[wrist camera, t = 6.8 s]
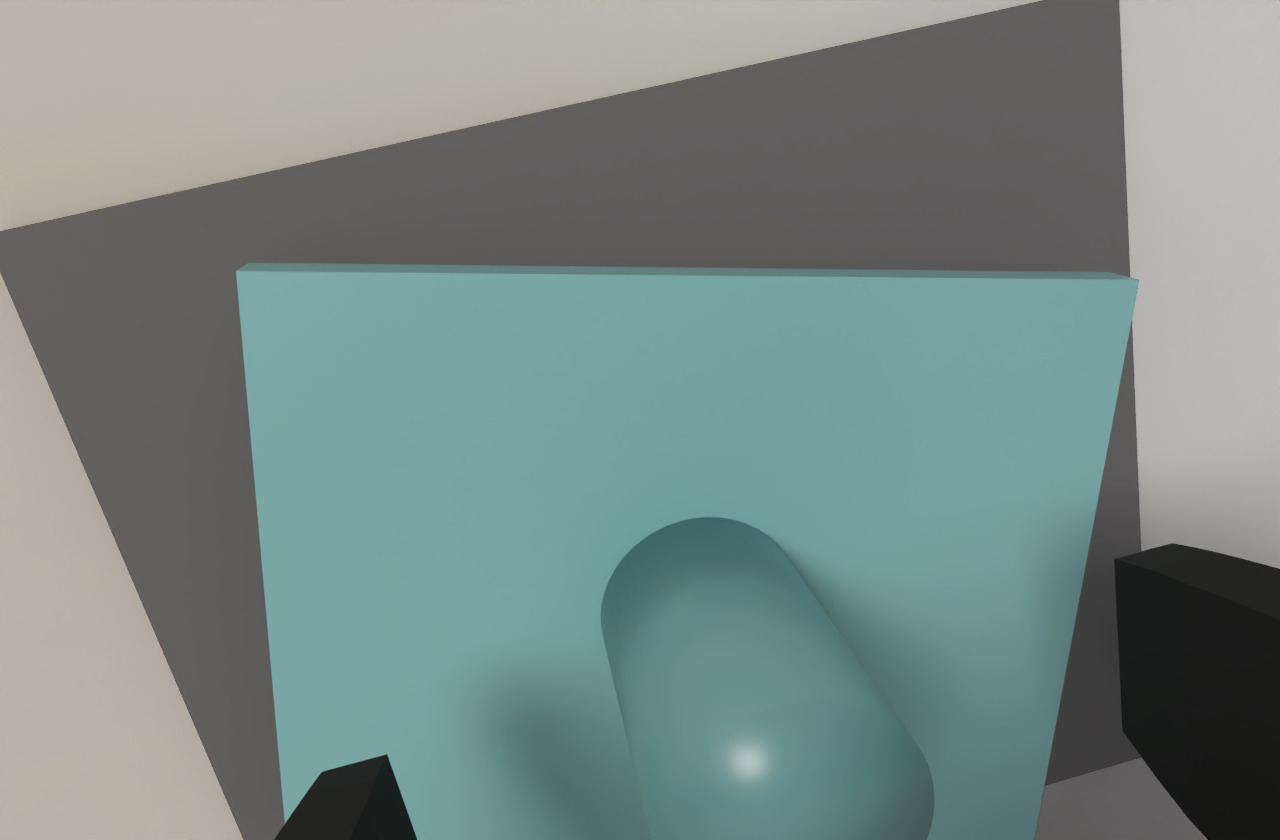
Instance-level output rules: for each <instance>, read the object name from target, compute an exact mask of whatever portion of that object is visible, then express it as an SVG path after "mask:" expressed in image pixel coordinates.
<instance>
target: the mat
mask: <svg viewBox="0 0 1280 840" xmlns="http://www.w3.org/2000/svg"><path fill="white" fill-rule="evenodd" d="M247 263H319V264H411V265H502V266H594V267H685V268H777V269H868V270H959V271H1051V272H1111V273H1115V274H1119V275H1123V276H1126V277H1130V263H1129V238H1128V213H1127V188H1126V162H1125V137H1124V112H1123V87H1122V62H1121V37H1120V12H1119V0H1043V1H1039V2H1034V3H1030V4H1025V5H1020V6H1016V7H1011V8H1007V9H1002V10H998V11H993V12H989V13H984V14H980V15H975V16H971V17H966V18H962V19H957V20H953V21H948V22H944V23H939V24H935V25H930V26H926V27H921V28H917V29H912V30H908V31H903V32H898V33H894V34H889V35H885V36H880V37H876V38H871V39H867V40H862V41H858V42H853V43H849V44H844V45H840V46H835V47H831V48H826V49H822V50H817V51H813V52H808V53H804V54H799V55H795V56H790V57H786V58H781V59H776V60H772V61H767V62H763V63H758V64H754V65H749V66H745V67H740V68H736V69H731V70H727V71H722V72H718V73H713V74H709V75H704V76H700V77H695V78H691V79H686V80H682V81H677V82H673V83H668V84H664V85H659V86H654V87H650V88H645V89H641V90H636V91H632V92H627V93H623V94H618V95H614V96H609V97H605V98H600V99H596V100H591V101H587V102H582V103H578V104H573V105H569V106H564V107H560V108H555V109H551V110H546V111H542V112H537V113H533V114H528V115H523V116H519V117H514V118H510V119H505V120H501V121H496V122H492V123H487V124H483V125H478V126H474V127H469V128H465V129H460V130H456V131H451V132H447V133H442V134H438V135H433V136H429V137H424V138H420V139H415V140H411V141H406V142H401V143H397V144H392V145H388V146H383V147H379V148H374V149H370V150H365V151H361V152H356V153H352V154H347V155H343V156H338V157H334V158H329V159H325V160H320V161H316V162H311V163H307V164H302V165H298V166H293V167H289V168H284V169H279V170H275V171H270V172H266V173H261V174H257V175H252V176H248V177H243V178H239V179H234V180H230V181H225V182H221V183H216V184H212V185H207V186H203V187H198V188H194V189H189V190H185V191H180V192H176V193H171V194H167V195H162V196H157V197H153V198H148V199H144V200H139V201H135V202H130V203H126V204H121V205H117V206H112V207H108V208H103V209H99V210H94V211H90V212H85V213H81V214H76V215H72V216H67V217H63V218H58V219H54V220H49V221H45V222H40V223H36V224H31V225H26V226H22V227H17V228H13V229H8V230H4V231H0V273H1V275H2V277H3V280H4V282H5V284H6V287H7V289H8V291H9V294H10V296H11V298H12V301H13V303H14V305H15V308H16V310H17V312H18V315H19V317H20V319H21V322H22V324H23V326H24V329H25V331H26V333H27V336H28V338H29V340H30V343H31V345H32V347H33V350H34V352H35V354H36V357H37V359H38V361H39V364H40V366H41V368H42V371H43V373H44V375H45V378H46V380H47V382H48V385H49V387H50V389H51V392H52V394H53V396H54V399H55V401H56V403H57V406H58V408H59V410H60V413H61V415H62V417H63V420H64V422H65V424H66V427H67V429H68V431H69V434H70V436H71V438H72V441H73V443H74V445H75V448H76V450H77V452H78V455H79V457H80V459H81V462H82V464H83V466H84V469H85V471H86V473H87V476H88V478H89V480H90V483H91V485H92V487H93V490H94V492H95V494H96V497H97V499H98V501H99V503H100V506H101V508H102V510H103V513H104V515H105V517H106V520H107V522H108V524H109V527H110V529H111V531H112V534H113V536H114V538H115V541H116V543H117V545H118V548H119V550H120V552H121V555H122V557H123V559H124V562H125V564H126V566H127V569H128V571H129V573H130V576H131V578H132V580H133V583H134V585H135V587H136V590H137V592H138V594H139V597H140V599H141V601H142V604H143V606H144V608H145V611H146V613H147V615H148V618H149V620H150V622H151V625H152V627H153V629H154V632H155V634H156V636H157V639H158V641H159V643H160V646H161V648H162V650H163V653H164V655H165V657H166V660H167V662H168V664H169V667H170V669H171V671H172V674H173V676H174V678H175V681H176V683H177V685H178V688H179V690H180V692H181V695H182V697H183V699H184V702H185V704H186V706H187V709H188V711H189V713H190V716H191V718H192V720H193V723H194V725H195V727H196V730H197V732H198V734H199V737H200V739H201V741H202V744H203V746H204V748H205V751H206V753H207V755H208V758H209V760H210V762H211V765H212V767H213V769H214V772H215V774H216V776H217V779H218V781H219V783H220V786H221V788H222V790H223V793H224V795H225V797H226V800H227V802H228V804H229V807H230V809H231V811H232V814H233V816H234V818H235V821H236V823H237V825H238V828H239V830H240V832H241V835H242V837H243V839H244V840H274V839H275V837H276V836H277V835H278V833H279V832H280V830H281V829H282V827H283V826H284V824H285V820H284V809H283V797H282V786H281V775H280V763H279V752H278V741H277V729H276V718H275V707H274V695H273V684H272V673H271V662H270V650H269V639H268V628H267V616H266V605H265V594H264V582H263V571H262V560H261V548H260V537H259V526H258V515H257V503H256V492H255V481H254V469H253V458H252V447H251V435H250V424H249V413H248V401H247V390H246V379H245V368H244V356H243V345H242V334H241V322H240V311H239V300H238V288H237V277H236V271H237V270H238V269H240V268H241V267H243V266H244V265H246V264H247ZM1138 552H1141V539H1140V514H1139V489H1138V463H1137V438H1136V413H1135V388H1134V363H1133V338H1132V321H1131V326H1130V332H1129V337H1128V342H1127V348H1126V353H1125V358H1124V364H1123V369H1122V374H1121V380H1120V385H1119V390H1118V396H1117V401H1116V406H1115V412H1114V417H1113V422H1112V428H1111V433H1110V438H1109V444H1108V449H1107V454H1106V460H1105V465H1104V470H1103V476H1102V481H1101V486H1100V492H1099V497H1098V502H1097V508H1096V513H1095V518H1094V524H1093V529H1092V534H1091V540H1090V545H1089V550H1088V556H1087V561H1086V566H1085V572H1084V577H1083V582H1082V588H1081V593H1080V598H1079V604H1078V609H1077V614H1076V620H1075V625H1074V630H1073V636H1072V641H1071V646H1070V652H1069V657H1068V662H1067V668H1066V673H1065V678H1064V684H1063V689H1062V694H1061V700H1060V705H1059V710H1058V716H1057V721H1056V726H1055V732H1054V737H1053V742H1052V748H1051V753H1050V758H1049V764H1048V769H1047V774H1046V780H1045V785H1048V784H1052V783H1055V782H1058V781H1062V780H1065V779H1069V778H1072V777H1075V776H1079V775H1082V774H1086V773H1089V772H1093V771H1096V770H1099V769H1103V768H1106V767H1110V766H1113V765H1116V764H1120V763H1123V762H1127V761H1130V760H1134V759H1137V758H1140V757H1141V756H1140V754H1139V753H1138V752H1137V750H1136V749H1135V747H1134V746H1133V745H1132V743H1131V742H1130V741H1129V739H1128V738H1127V736H1126V735H1125V734H1124V732H1123V731H1122V711H1121V691H1120V671H1119V650H1118V630H1117V610H1116V589H1115V569H1114V559H1116V558H1120V557H1123V556H1127V555H1131V554H1135V553H1138ZM1045 785H1044V786H1045Z"/></svg>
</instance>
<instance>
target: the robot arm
mask: <svg viewBox="0 0 1280 840" xmlns="http://www.w3.org/2000/svg"><path fill="white" fill-rule="evenodd" d="M1114 569H1115V589H1116V610H1117V630H1118V650H1119V671H1120V691H1121V711H1122V731H1123V732H1124V734H1125V735H1126V736H1127V738H1128V739H1129V741H1130V742H1131V743H1132V745H1133V746H1134V747H1135V749H1136V750H1137V752H1138V753H1139V754H1140V756H1141V757H1142V758H1143V760H1144V761H1145V762H1146V764H1147V765H1148V767H1149V768H1150V769H1151V771H1152V772H1153V773H1154V775H1155V776H1156V778H1157V779H1158V780H1159V781H1160V783H1161V784H1162V785H1163V787H1164V788H1165V789H1166V790H1167V792H1168V793H1169V794H1170V796H1171V797H1172V798H1173V799H1174V801H1175V802H1176V803H1177V804H1178V806H1179V807H1180V808H1181V810H1182V811H1183V812H1184V813H1185V815H1186V816H1187V817H1188V818H1189V820H1190V821H1191V822H1192V823H1193V824H1194V825H1195V826H1196V827H1197V828H1198V829H1199V830H1200V831H1201V833H1202V834H1203V835H1204V836H1205V837H1206V838H1207V839H1208V840H1280V569H1278V568H1274V567H1270V566H1267V565H1263V564H1259V563H1255V562H1252V561H1248V560H1244V559H1240V558H1236V557H1232V556H1228V555H1224V554H1220V553H1216V552H1212V551H1208V550H1203V549H1199V548H1194V547H1189V546H1183V545H1178V544H1168V545H1164V546H1161V547H1157V548H1153V549H1149V550H1146V551H1142V552H1138V553H1135V554H1131V555H1127V556H1123V557H1120V558H1116V559H1114ZM274 840H417V837H416V834H415V831H414V829H413V826H412V823H411V820H410V817H409V815H408V812H407V809H406V806H405V803H404V800H403V798H402V795H401V792H400V789H399V786H398V784H397V781H396V778H395V775H394V772H393V770H392V767H391V764H390V761H389V758H388V755H387V754H386V755H382V756H379V757H375V758H371V759H367V760H364V761H360V762H356V763H353V764H349V765H345V766H341V767H338V768H334V769H330V770H326V771H323V772H321V774H320V775H319V776H318V778H317V779H316V780H315V782H314V783H313V784H312V786H311V787H310V788H309V790H308V791H307V793H306V794H305V796H304V797H303V798H302V800H301V801H300V803H299V804H298V806H297V807H296V808H295V810H294V811H293V813H292V814H291V816H290V817H289V819H288V820H287V821H286V823H285V824H284V826H283V827H282V829H281V830H280V832H279V833H278V835H277V836H276V837H275V839H274Z"/></svg>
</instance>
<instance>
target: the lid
mask: <svg viewBox="0 0 1280 840" xmlns="http://www.w3.org/2000/svg"><path fill="white" fill-rule="evenodd" d="M236 277H237V288H238V300H239V311H240V322H241V334H242V345H243V356H244V368H245V379H246V390H247V401H248V413H249V424H250V435H251V447H252V458H253V469H254V481H255V492H256V503H257V515H258V526H259V537H260V548H261V560H262V571H263V582H264V594H265V605H266V616H267V628H268V639H269V650H270V662H271V673H272V684H273V695H274V707H275V718H276V729H277V741H278V752H279V763H280V775H281V786H282V797H283V809H284V820H285V823H286V821H287V820H288V819H289V817H290V816H291V814H292V813H293V811H294V810H295V808H296V807H297V806H298V804H299V803H300V801H301V800H302V798H303V797H304V796H305V794H306V793H307V791H308V790H309V788H310V787H311V786H312V784H313V783H314V782H315V780H316V779H317V778H318V776H319V775H320V774H321V772H323V771H326V770H330V769H334V768H338V767H341V766H345V765H349V764H353V763H356V762H360V761H364V760H367V759H371V758H375V757H379V756H382V755H386V754H387V755H388V758H389V761H390V764H391V767H392V770H393V772H394V775H395V778H396V781H397V784H398V786H399V789H400V792H401V795H402V798H403V800H404V803H405V806H406V809H407V812H408V815H409V817H410V820H411V823H412V826H413V829H414V831H415V834H416V837H417V840H1034V838H1035V833H1036V828H1037V822H1038V817H1039V812H1040V806H1041V801H1042V796H1043V790H1044V785H1045V780H1046V774H1047V769H1048V764H1049V758H1050V753H1051V748H1052V742H1053V737H1054V732H1055V726H1056V721H1057V716H1058V710H1059V705H1060V700H1061V694H1062V689H1063V684H1064V678H1065V673H1066V668H1067V662H1068V657H1069V652H1070V646H1071V641H1072V636H1073V630H1074V625H1075V620H1076V614H1077V609H1078V604H1079V598H1080V593H1081V588H1082V582H1083V577H1084V572H1085V566H1086V561H1087V556H1088V550H1089V545H1090V540H1091V534H1092V529H1093V524H1094V518H1095V513H1096V508H1097V502H1098V497H1099V492H1100V486H1101V481H1102V476H1103V470H1104V465H1105V460H1106V454H1107V449H1108V444H1109V438H1110V433H1111V428H1112V422H1113V417H1114V412H1115V406H1116V401H1117V396H1118V390H1119V385H1120V380H1121V374H1122V369H1123V364H1124V358H1125V353H1126V348H1127V342H1128V337H1129V332H1130V326H1131V321H1132V316H1133V310H1134V305H1135V300H1136V294H1137V289H1138V284H1139V280H1138V279H1134V278H1130V277H1126V276H1123V275H1119V274H1115V273H1111V272H1051V271H959V270H868V269H777V268H685V267H594V266H502V265H411V264H319V263H247V264H246V265H244V266H243V267H241V268H240V269H238V270H237V271H236Z"/></svg>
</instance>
